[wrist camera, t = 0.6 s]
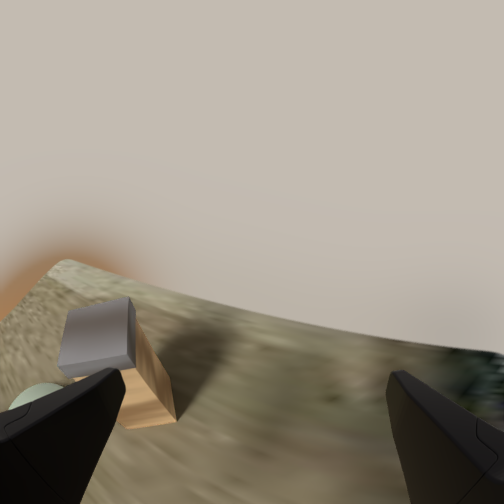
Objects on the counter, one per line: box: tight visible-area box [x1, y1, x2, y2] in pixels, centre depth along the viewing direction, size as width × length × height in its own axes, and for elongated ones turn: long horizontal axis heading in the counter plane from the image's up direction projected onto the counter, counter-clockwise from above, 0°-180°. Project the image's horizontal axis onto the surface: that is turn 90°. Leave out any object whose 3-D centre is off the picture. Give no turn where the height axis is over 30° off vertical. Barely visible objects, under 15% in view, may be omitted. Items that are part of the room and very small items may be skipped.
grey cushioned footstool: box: [57, 296, 177, 429], centre depth 20 cm, size 5×5×11 cm
